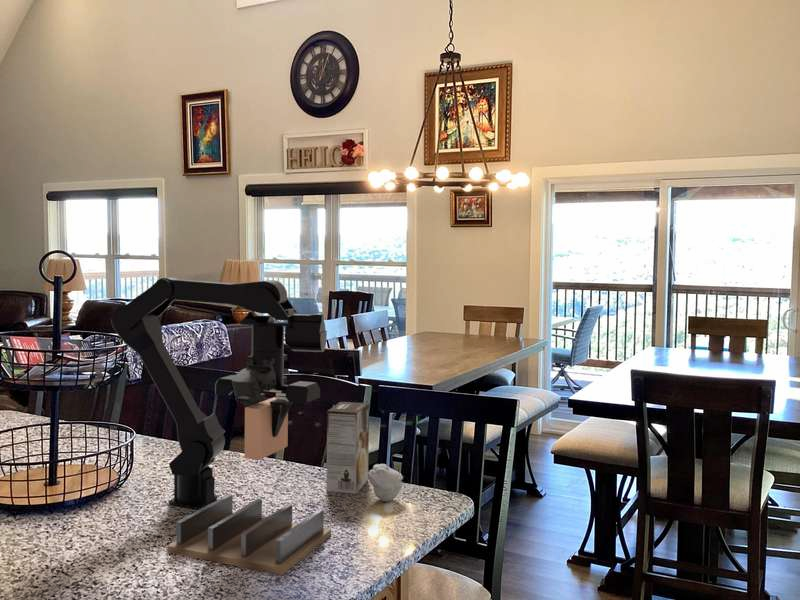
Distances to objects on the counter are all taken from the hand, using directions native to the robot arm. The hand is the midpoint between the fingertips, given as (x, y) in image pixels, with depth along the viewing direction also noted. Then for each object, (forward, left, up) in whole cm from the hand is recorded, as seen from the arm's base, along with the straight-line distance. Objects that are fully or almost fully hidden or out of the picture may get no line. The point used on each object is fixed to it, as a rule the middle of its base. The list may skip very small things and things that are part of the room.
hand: (266, 435), depth 131 cm
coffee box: (+9, +16, -13) cm, 23 cm away
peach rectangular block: (0, 0, -3) cm, 3 cm away
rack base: (+7, -16, -13) cm, 21 cm away
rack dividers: (+7, -16, -13) cm, 21 cm away
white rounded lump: (+19, +11, -13) cm, 26 cm away
